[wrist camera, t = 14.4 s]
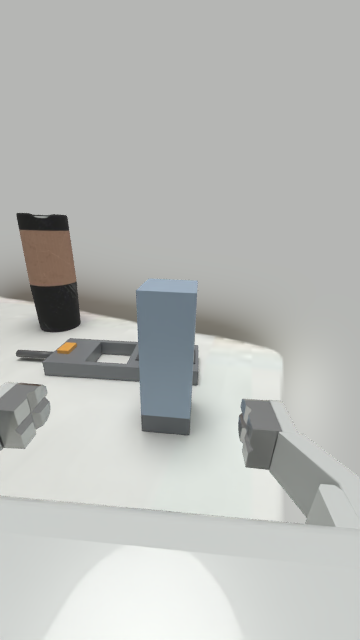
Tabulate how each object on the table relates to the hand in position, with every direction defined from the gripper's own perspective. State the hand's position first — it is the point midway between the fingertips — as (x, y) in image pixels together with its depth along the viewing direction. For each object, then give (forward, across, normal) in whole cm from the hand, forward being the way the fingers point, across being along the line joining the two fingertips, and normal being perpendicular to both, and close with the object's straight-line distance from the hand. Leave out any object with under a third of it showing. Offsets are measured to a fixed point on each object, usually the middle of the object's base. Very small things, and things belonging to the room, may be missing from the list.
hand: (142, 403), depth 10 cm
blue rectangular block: (+12, 0, -12) cm, 17 cm away
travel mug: (+34, -24, -12) cm, 43 cm away
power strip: (+21, -10, -12) cm, 26 cm away
